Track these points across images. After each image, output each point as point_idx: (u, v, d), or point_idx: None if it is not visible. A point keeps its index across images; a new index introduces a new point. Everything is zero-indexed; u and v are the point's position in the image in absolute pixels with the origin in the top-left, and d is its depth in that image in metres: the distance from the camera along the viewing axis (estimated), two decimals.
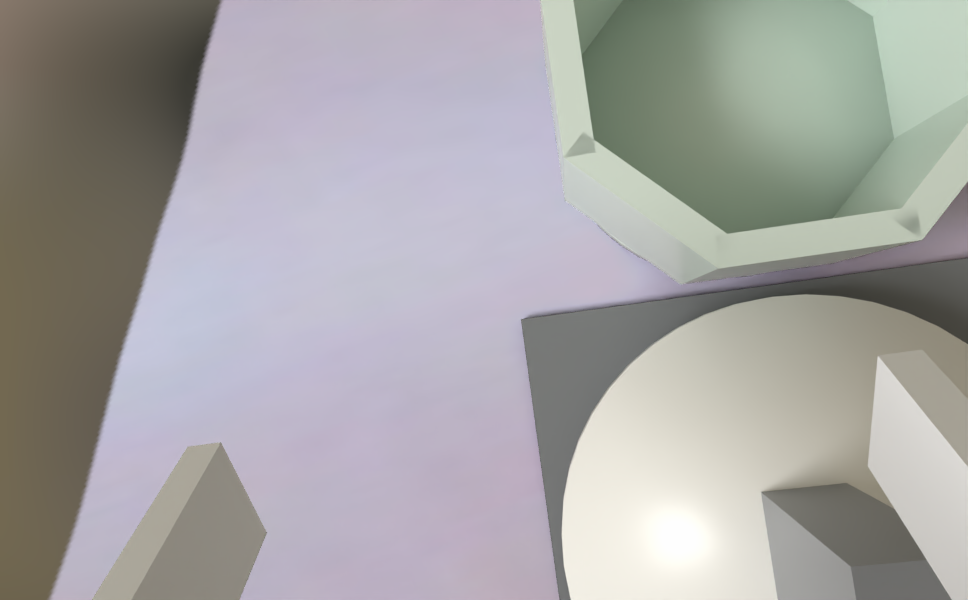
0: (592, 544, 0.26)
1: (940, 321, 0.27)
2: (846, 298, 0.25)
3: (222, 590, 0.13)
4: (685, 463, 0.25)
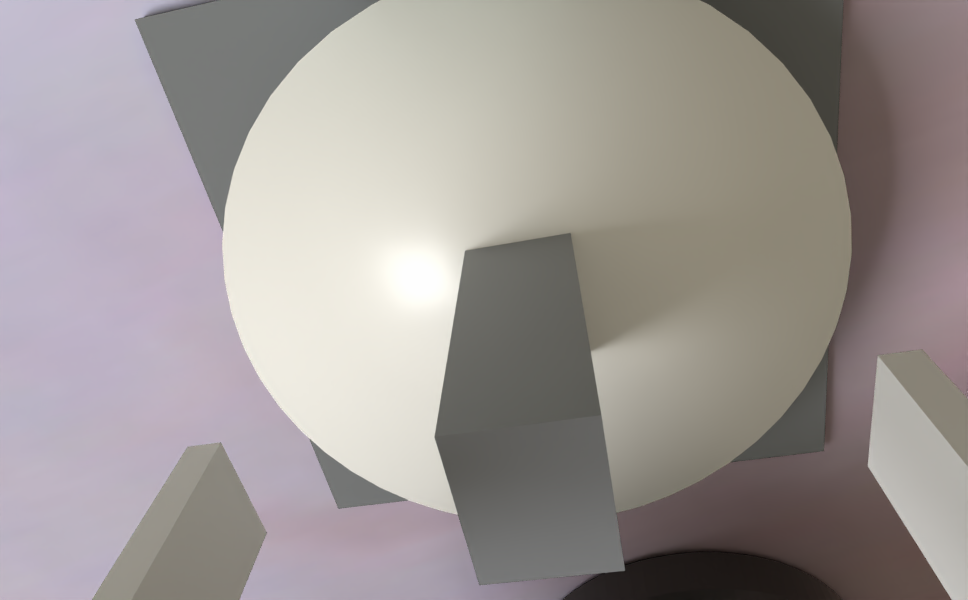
0: (271, 322, 0.21)
1: None
2: None
3: (222, 590, 0.13)
4: (367, 223, 0.19)
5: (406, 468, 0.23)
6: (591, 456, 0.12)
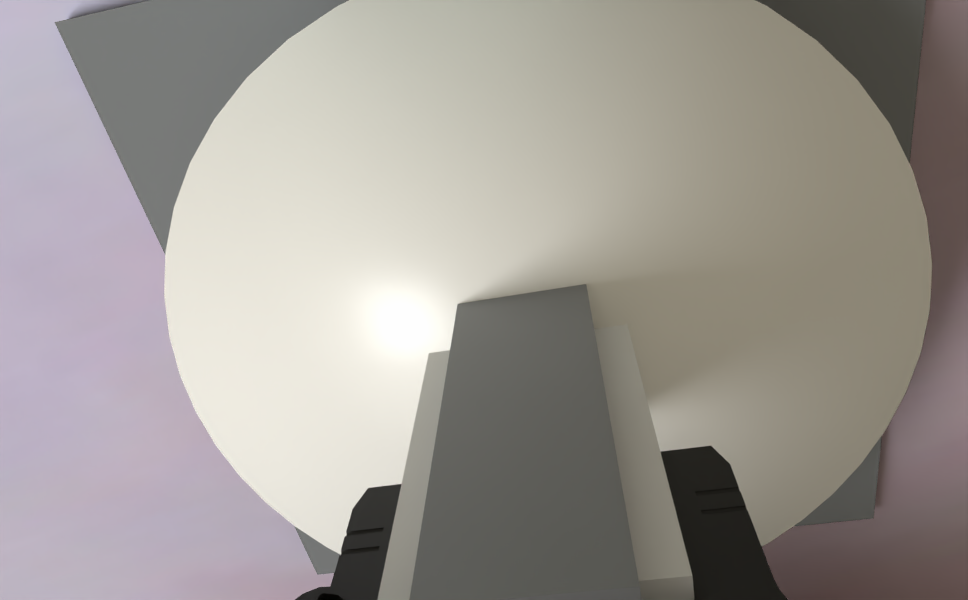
0: (227, 384, 0.17)
1: None
2: None
3: None
4: (338, 271, 0.16)
5: None
6: None
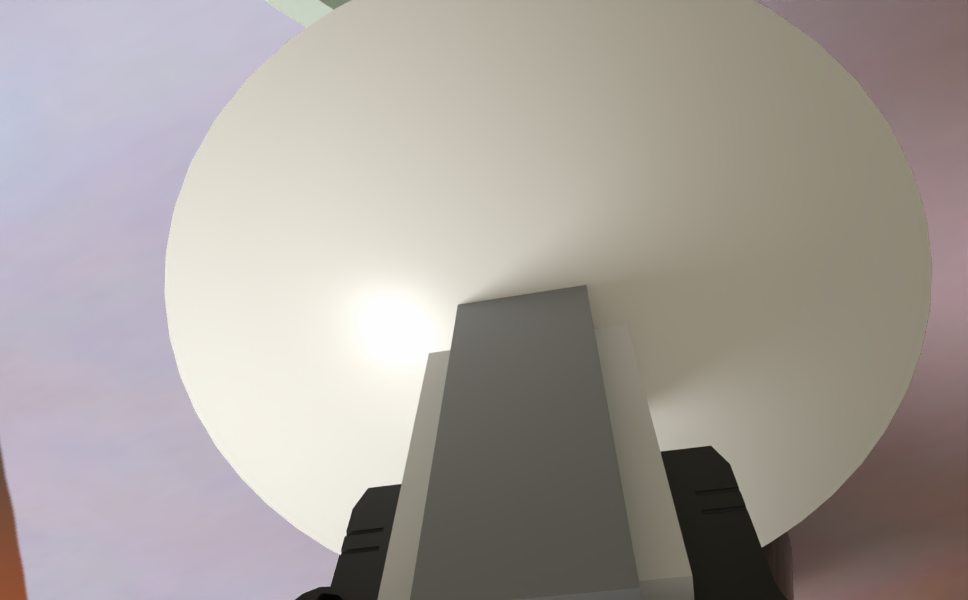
0: (227, 385, 0.17)
1: None
2: None
3: None
4: (338, 272, 0.16)
5: None
6: None
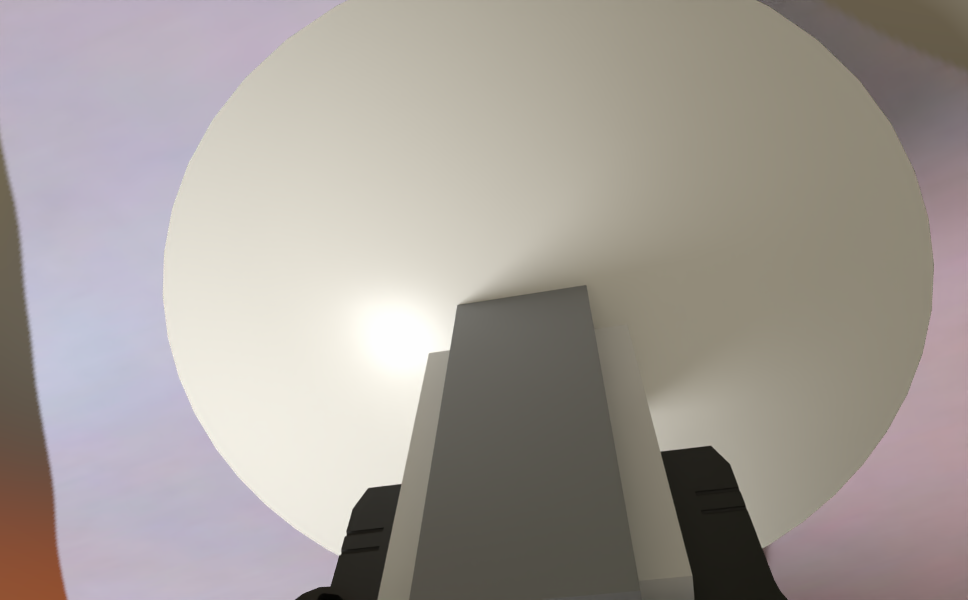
0: (226, 385, 0.17)
1: None
2: None
3: None
4: (337, 272, 0.16)
5: None
6: None
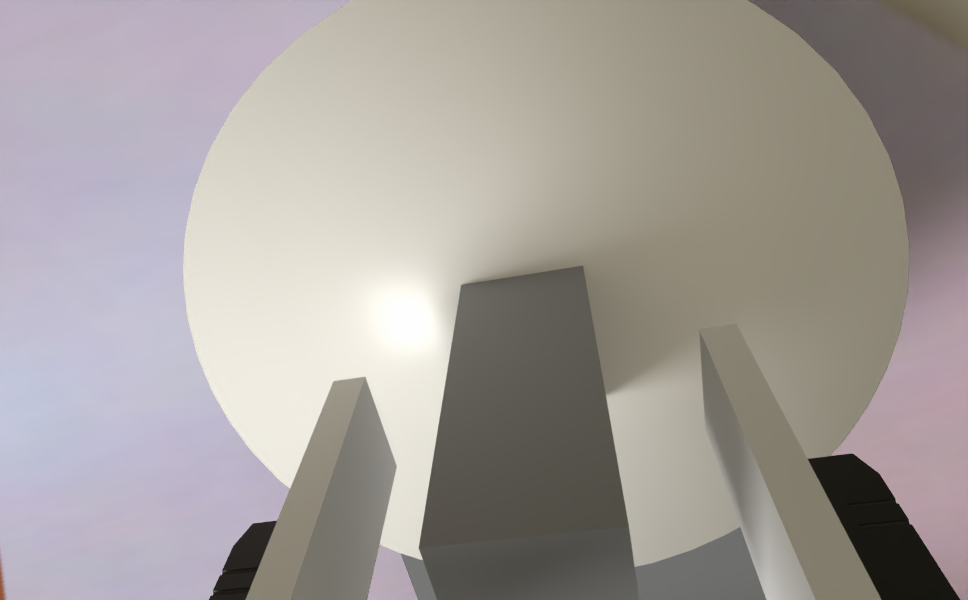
0: (241, 363, 0.18)
1: None
2: None
3: (374, 510, 0.14)
4: (348, 254, 0.16)
5: (397, 520, 0.21)
6: (616, 571, 0.10)
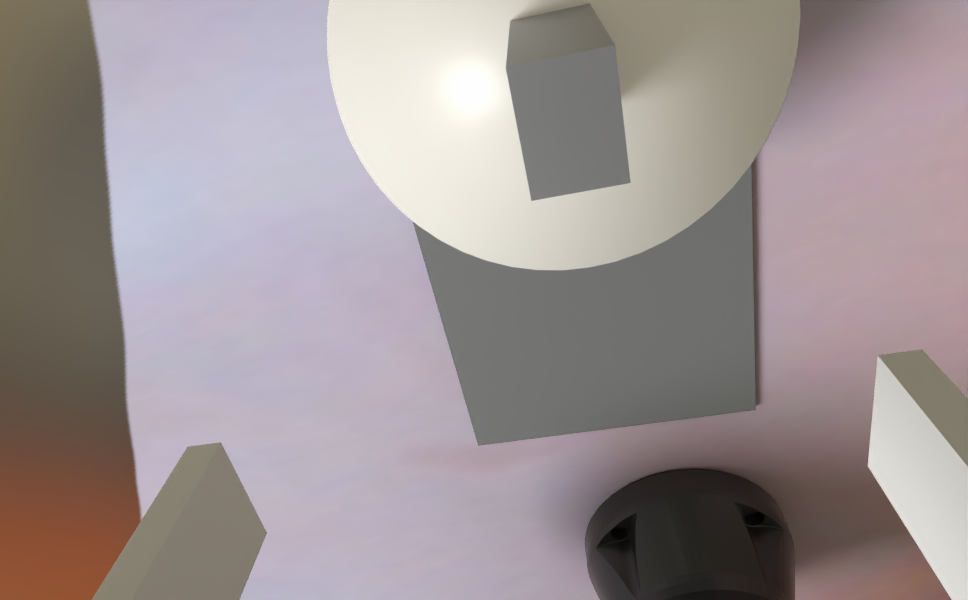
0: (360, 89, 0.27)
1: None
2: None
3: (222, 590, 0.13)
4: None
5: (460, 221, 0.30)
6: (608, 80, 0.19)
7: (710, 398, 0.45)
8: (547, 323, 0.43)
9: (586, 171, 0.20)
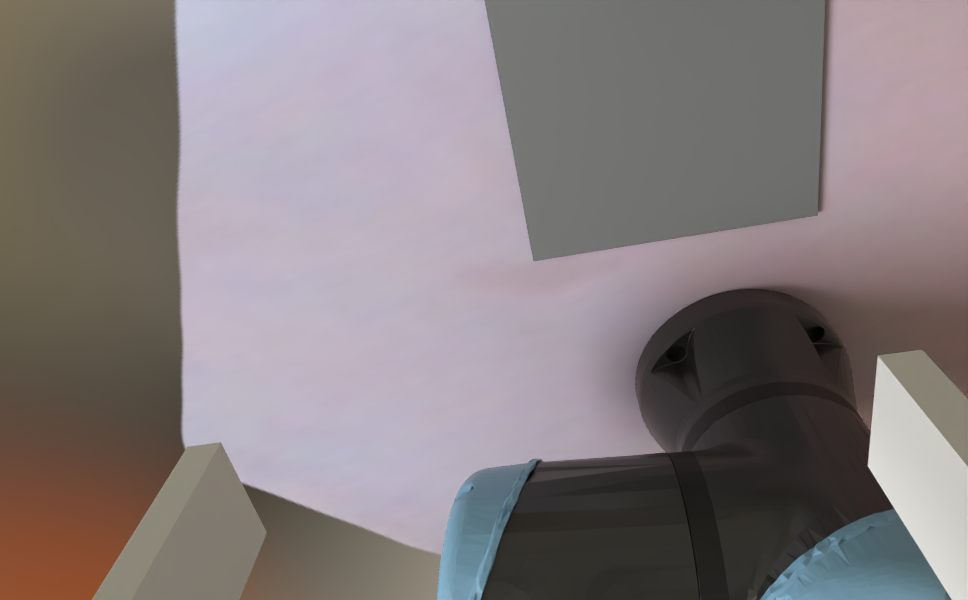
0: None
1: None
2: None
3: (222, 590, 0.13)
4: None
5: None
6: None
7: (772, 202, 0.45)
8: (612, 112, 0.42)
9: None
